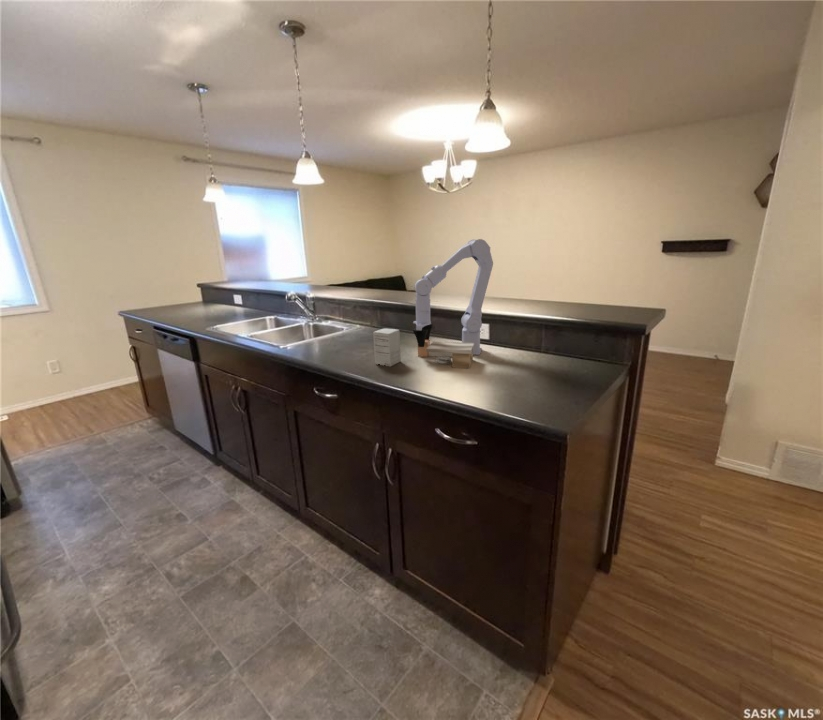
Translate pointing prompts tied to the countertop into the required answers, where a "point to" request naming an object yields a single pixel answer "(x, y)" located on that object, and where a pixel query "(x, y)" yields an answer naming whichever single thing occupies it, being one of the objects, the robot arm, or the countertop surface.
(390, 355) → the grey drawer cabinet
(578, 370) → the countertop surface
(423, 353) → the blade tool
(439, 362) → the disc
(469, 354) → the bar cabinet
